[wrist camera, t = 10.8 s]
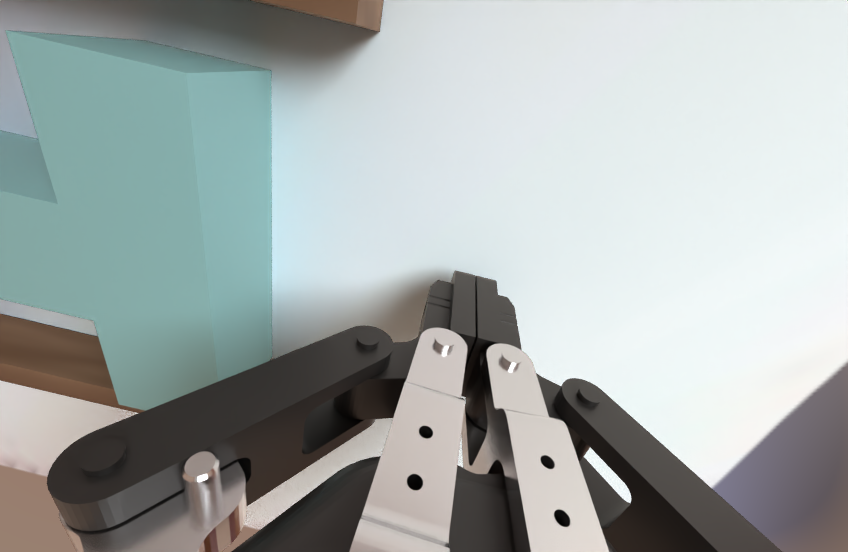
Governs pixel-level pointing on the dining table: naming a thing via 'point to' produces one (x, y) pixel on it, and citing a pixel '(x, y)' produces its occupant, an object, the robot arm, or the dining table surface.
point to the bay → (82, 354)
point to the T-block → (143, 207)
